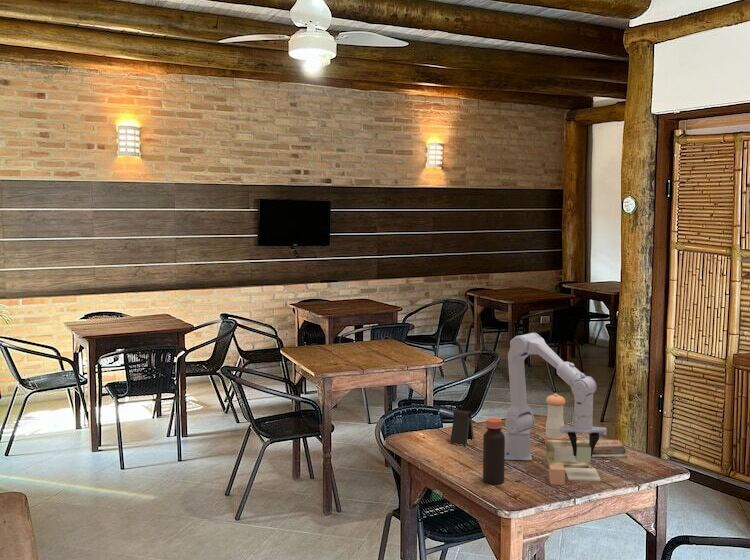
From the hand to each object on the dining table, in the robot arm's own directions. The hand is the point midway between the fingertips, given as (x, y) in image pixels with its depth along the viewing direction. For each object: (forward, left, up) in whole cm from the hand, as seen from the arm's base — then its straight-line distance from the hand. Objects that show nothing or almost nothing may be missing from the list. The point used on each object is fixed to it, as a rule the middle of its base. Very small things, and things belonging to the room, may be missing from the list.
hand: (582, 455), depth 242 cm
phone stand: (-39, +31, -7) cm, 50 cm away
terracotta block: (-9, -7, -7) cm, 13 cm away
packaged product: (+9, +23, -7) cm, 26 cm away
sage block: (0, 0, -2) cm, 2 cm away
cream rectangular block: (-4, +10, -5) cm, 12 cm away
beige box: (-4, +10, -7) cm, 13 cm away
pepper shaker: (-5, +31, -7) cm, 32 cm away
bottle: (-29, -8, -7) cm, 31 cm away
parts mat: (0, 0, -7) cm, 7 cm away
